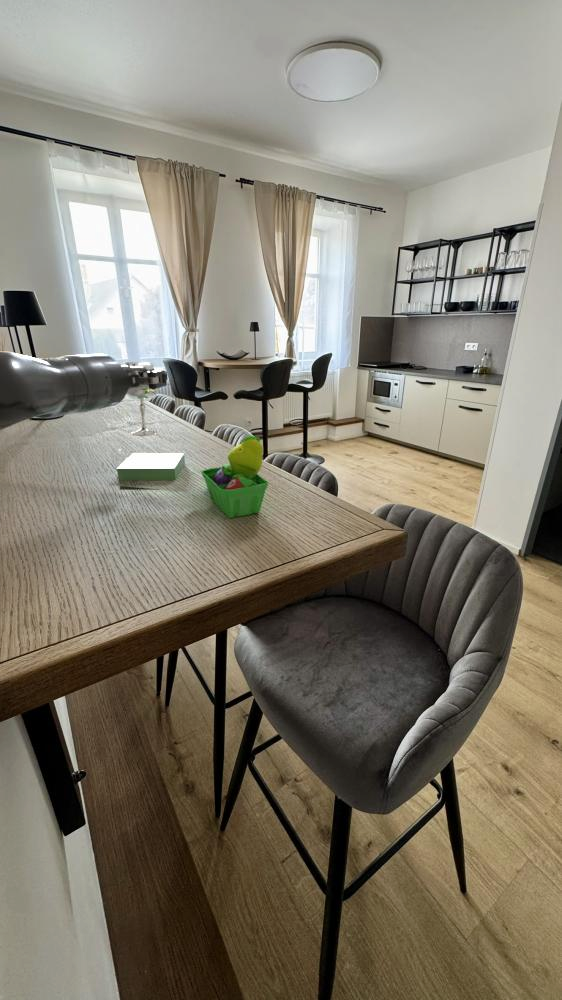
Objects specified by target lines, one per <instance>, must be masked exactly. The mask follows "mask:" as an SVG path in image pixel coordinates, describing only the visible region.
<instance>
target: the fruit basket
mask: <svg viewBox="0 0 562 1000" xmlns="http://www.w3.org/2000/svg"><path fill="white" fill-rule="evenodd" d="M263 454H264V445H263V444H262V443H261V438H260V437H256V436H255V435H246V436H245V437H244V438H243V439H242V441H241V443H239V444H238V445H236V446H235V447H233V448H232V449H230V451H229V452H228V454H227V460H228V463H229V464H224V465H222V466H221V467H211V468H206V469H202V470H201V471H200V472H201V476H202V478H203V479H204V482H205V485H206V488H207V490H208V492H209V497H210V500H211V501H212V502H213V503H214V504H215V505H216V506H217V508H219V509H220V510H221V511H222V512H223V513H224V514H225V515H226V516H227V518H229V519H232V518H235V517H242V516H243V517H244V516H248V515H252V514H260V512H261V508H262V505H263V501H264V496H265V493H266V491H267V489H268V486H269V482H268V480H266V479H264V478H263V477H262V476H260V475H259V474H258V473H259V472H260V470H261V469H262V465H263Z"/></svg>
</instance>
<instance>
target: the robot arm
mask: <svg viewBox="0 0 562 1000" xmlns="http://www.w3.org/2000/svg"><path fill="white" fill-rule="evenodd" d="M135 371H138V372H139V374H138V373H137V372H135ZM168 381H169V379H168V371H167V370H166V368H152V369H147V368H146V367H130V366H124V365H122V364H121V363H120V362H119V361H118V360H117V359H115V358H114V357H113V356H111V355H109V354H106V353H105V354H104V353H89V354H87V353H85V354H68V355H63V356H60V357H59V356H58V357H47V358H46V357H45V358H36V357H32V356H28V355H24V354H22V353H21V354H20V353H16V352H11V351H0V432H1V431H3V430H5V429H8V428H10V427H12V426H14V425H17V424H18V423H21V422H24V421H26V420H30V419H32V418H33V419H34V418H37V419H38V418H39V419H51V418H52V419H53V418H58V417H63V416H67V415H72V414H82V413H83V414H84V413H88V412H92V411H96V410H100V409H101V410H102V409H107V408H109V407H113V406H116V405H118V404H120V403H122V401H124V399H125V397H126V396H127V394H126V393H127V392H133V391H134V390H141V389H147V388H148V387H149V389H152V390H155V389H157V388H158V389H160V388H162V387H166V386H168Z"/></svg>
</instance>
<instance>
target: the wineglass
mask: <svg viewBox="0 0 562 1000" xmlns="http://www.w3.org/2000/svg"><path fill="white" fill-rule="evenodd" d="M123 366H130V367H146V368H147V369H152V368H155V365H154V363H152V362H139V361H138V362H137V361H134V362H132V361H131V362H130V361H128V362H127V361H126V362H124V364H123ZM155 369H156V368H155ZM135 372H137V373H138V374H139V372H138V371H135ZM158 391H159V388H157V389H155V390H152V389H149V387H148V388H147V389H141V390H134V391H133V392H127V393H126V396H127V397H129V398H130V399H132V400H134V401H136V402H139V406H138V407H139V408H138V409H139V412H140V415H141V428H140V429H138V430H134V431H131V432H130V434H131V435H132V436H137V437H151V436H155V435H157V434H158V432H157V431H155V430H151V429H149V428H147V426H146V421H145V413H146V404H145V402H148V401H151V400H152V399H154V398H155V397H156V396H157V394H158V393H159V392H158Z"/></svg>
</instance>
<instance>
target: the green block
mask: <svg viewBox="0 0 562 1000" xmlns="http://www.w3.org/2000/svg"><path fill="white" fill-rule="evenodd" d="M185 461H186V459H185V453H184V452H183V453H181V452H177V453H176V452H172V453H171V452H170V453H169V452H164V453H161V452H159V453H158V452H156V453H155V452H154V453H153V452H152V453H151V452H150V453H149V452H148V453H147V452H144V453H143V452H141V453H140V452H139V453H138V452H134V453H132V454H130V456H129V457H127V458H126V459H125V460H124V461H123V462H122V463H121V464H120V465H119V466H117V468H116V472H117V478H118V481H176V480H177V479H178V477H179V475H180V473H181V472H182V470H183V468H184V466H185V465H186V462H185ZM119 490H120V491H140V490H141V491H143V490H144V491H145V490H149V491H150V490H151V491H152V490H160V489H158V488H149V487H139V486H138V487H136V486H127V485H126V486H125V485H119Z"/></svg>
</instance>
